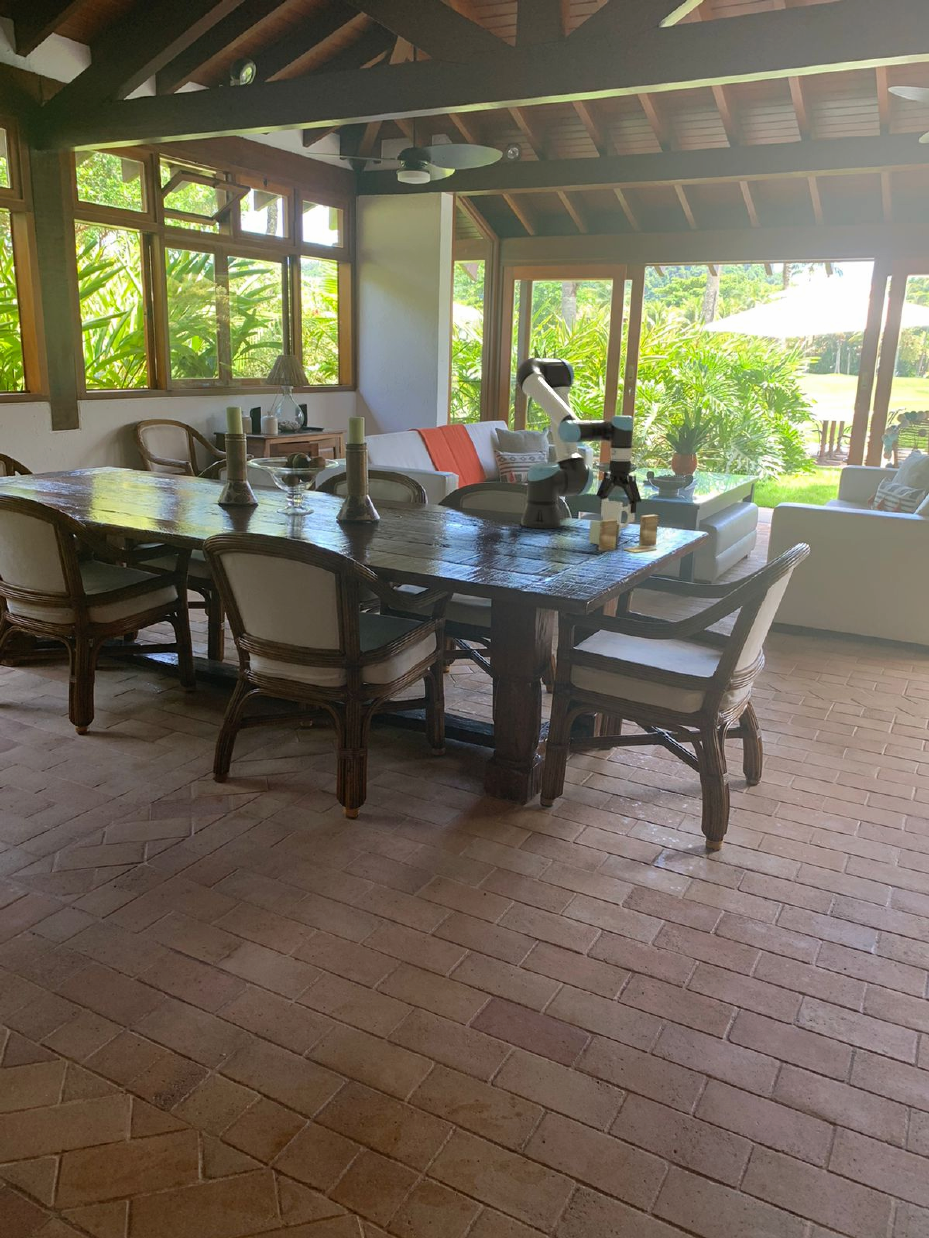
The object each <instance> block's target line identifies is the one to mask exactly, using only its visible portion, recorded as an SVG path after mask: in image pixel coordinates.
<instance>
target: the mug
mask: <svg viewBox="0 0 929 1238" xmlns="http://www.w3.org/2000/svg"><path fill="white" fill-rule="evenodd" d="M623 511H624V512H625V513H626V514H627V516H628V506H624V507H623V502H621V501H616V500H608V501H605V502H604V506H603V517H602V520H610V519H613V520H617V524H620V526H619V536H620V535H621V530H622V529H624V530H625V529H627V527H628V525H629V523H630V522H627V521H626V522H625V523H624V524H622V513H623Z"/></svg>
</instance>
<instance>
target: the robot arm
mask: <svg viewBox="0 0 929 1238" xmlns="http://www.w3.org/2000/svg"><path fill="white" fill-rule="evenodd" d="M515 378H516V383H517V385H518V387H519V389H520V390H521V391H522V392H523V394H524V395H525V396H528V397H529V396H530V397H531V398H532V399H533V401H534V402H535V403H536V404H537V405H538V406H539V407H540V408H541V409H542V411H543V412H544V413H545V414H546V415H547V416H548V419H549V424H550V429H551V434H552V440H553V446H554V450H555V454H556V455H555V456H556V460H555V461H554V462H553V461H545V462H538V463H535V464H531V466H529V468H528V472H527V477H526V479H527V486H526V487H527V488H526V489H527V490H526V506H525V508H524V511H523V515H522V517H521V519H520V520H521V526H522V527H526V528H532V529H542V530H543V529H545V530H547V529H556V528H560V527H561V526H562V519H561V515H560V511H559V507H558V500H559V499H558V498H559V497H560V498H562V497H578V496H583V495H586V494H588V492H589V491H590V490H591V489H592V486H593V485H594V484H593V483H594V470H593V468H592V467H591V466H590V465H589V464H586V462H585V457H583V456H582V455H580V453H579V448H578V443H583V442H584V443H586V442H587V443H588V442H610V455H609V458H610V460H609V468H608V469H609V470H608V471H605V472H603V476H602V477H603V478H602V481H601V483H600V486H599V487H598V490H597V493H596V496H597V497H599V499H600V505H599V506H600V518H603V506H604V502H605V501H610V500H609V496H610V494H611V492H612V491H613V490H614V488H615V487H620V488H621V489H623V492H624V494H625V495H626V497H627V499H628V501H629V503H628V505H627V507H628V515H627V518H626V522H629V523H635V514H636V513H637V504H638V503H642V499H641V494H640V491H639V488H638V484H637V476H636V475H635V474H632V475H630V472H631V470H632V453H633V452H632V451H633V450H632V449H633V436H634V418H633V416H632V415H623V414H622V415H621V414H620V415H619V414H618V415H612V417H611V420H609V419H602V418H601V419H600V418H599V419H597V418H596V419H590V420H589V419H585V420H582V419H580V418H579V417H578V415H576V414H575V412H574V411H573V410H572V409H571V405H570V400H569V396H568V395H569V393H570V392H571V387H572V386H573V384H574V382H575V381H574V379H575V371H574V368H573V366H572V364H571V363H570V361H568V360H566V359H565V358H561V357H560V358H559V357H529V358H527V359H525V360H524V361H522V362H521V364H519V366H518V368H517V371H516V377H515Z"/></svg>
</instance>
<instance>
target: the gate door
mask: <svg viewBox="0 0 929 1238" xmlns="http://www.w3.org/2000/svg"><path fill="white" fill-rule="evenodd" d="M600 521H601V520H600ZM600 521H599V520H590V523H589V524H590V525H589V536H588V538H589V540H588V543H590V544H595V545H599V535H600ZM619 526H620V524H617V531H616V546H615V549H619V540H620V539H619V537H620V535H619Z"/></svg>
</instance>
